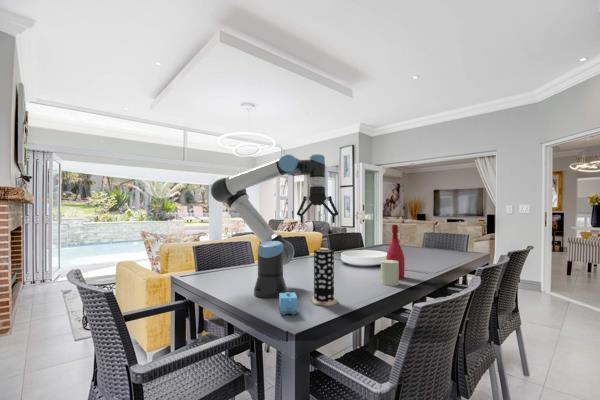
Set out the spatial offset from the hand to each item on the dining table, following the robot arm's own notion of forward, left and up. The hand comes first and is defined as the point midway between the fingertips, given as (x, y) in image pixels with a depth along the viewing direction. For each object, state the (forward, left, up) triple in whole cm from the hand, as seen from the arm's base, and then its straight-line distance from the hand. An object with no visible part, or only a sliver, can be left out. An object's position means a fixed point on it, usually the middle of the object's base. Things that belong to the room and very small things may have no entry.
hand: (317, 229), depth 146 cm
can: (+38, +12, -29) cm, 49 cm away
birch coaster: (+2, -20, -29) cm, 35 cm away
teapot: (-12, -34, -29) cm, 46 cm away
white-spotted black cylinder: (+2, -20, -28) cm, 34 cm away
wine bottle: (+45, +26, -29) cm, 59 cm away
